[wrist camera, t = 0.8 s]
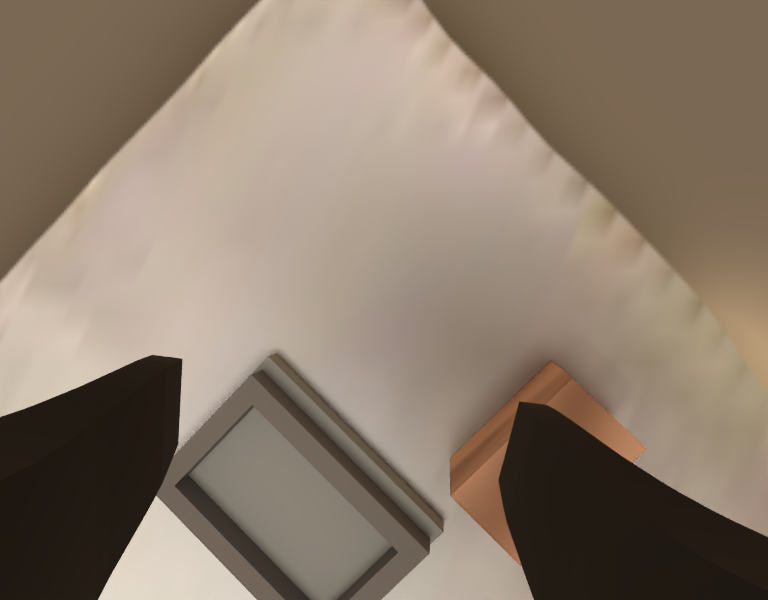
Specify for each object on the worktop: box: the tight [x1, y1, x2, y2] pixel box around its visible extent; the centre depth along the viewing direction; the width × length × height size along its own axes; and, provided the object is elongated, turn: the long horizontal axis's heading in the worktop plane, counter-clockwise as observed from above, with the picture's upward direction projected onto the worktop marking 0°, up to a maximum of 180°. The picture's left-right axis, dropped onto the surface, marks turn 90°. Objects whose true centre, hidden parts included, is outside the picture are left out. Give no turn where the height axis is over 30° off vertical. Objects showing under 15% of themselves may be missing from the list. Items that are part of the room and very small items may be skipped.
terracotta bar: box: [450, 361, 646, 565], centre depth 26 cm, size 4×7×5 cm, turn 136°
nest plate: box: [156, 354, 444, 600], centre depth 28 cm, size 12×9×3 cm
